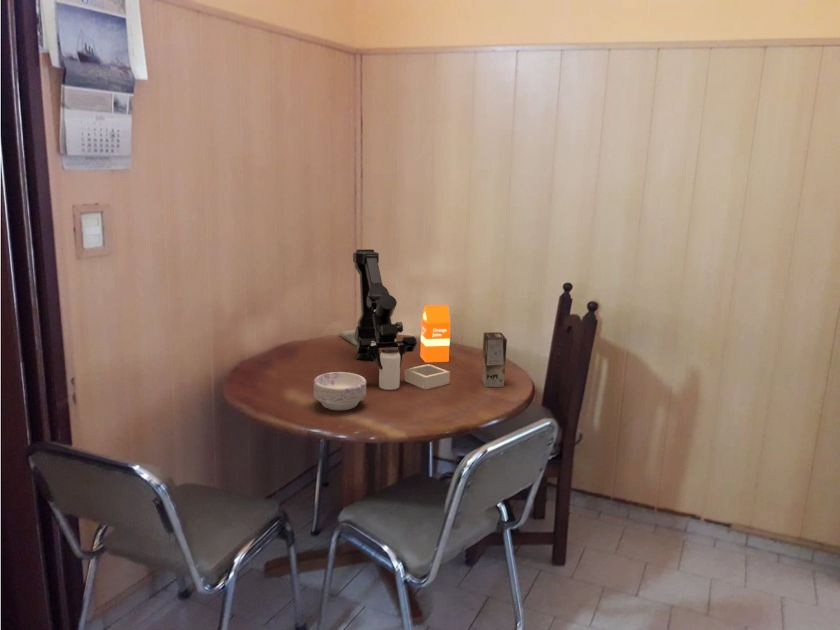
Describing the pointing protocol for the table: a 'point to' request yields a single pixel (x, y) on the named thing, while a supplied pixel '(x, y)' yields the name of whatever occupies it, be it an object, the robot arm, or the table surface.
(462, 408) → the table surface
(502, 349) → the coffee box
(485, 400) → the table surface
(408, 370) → the collar
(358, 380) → the paper bowls
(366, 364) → the table surface
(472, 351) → the table surface
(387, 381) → the can
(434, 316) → the orange juice
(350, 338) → the dish towel
